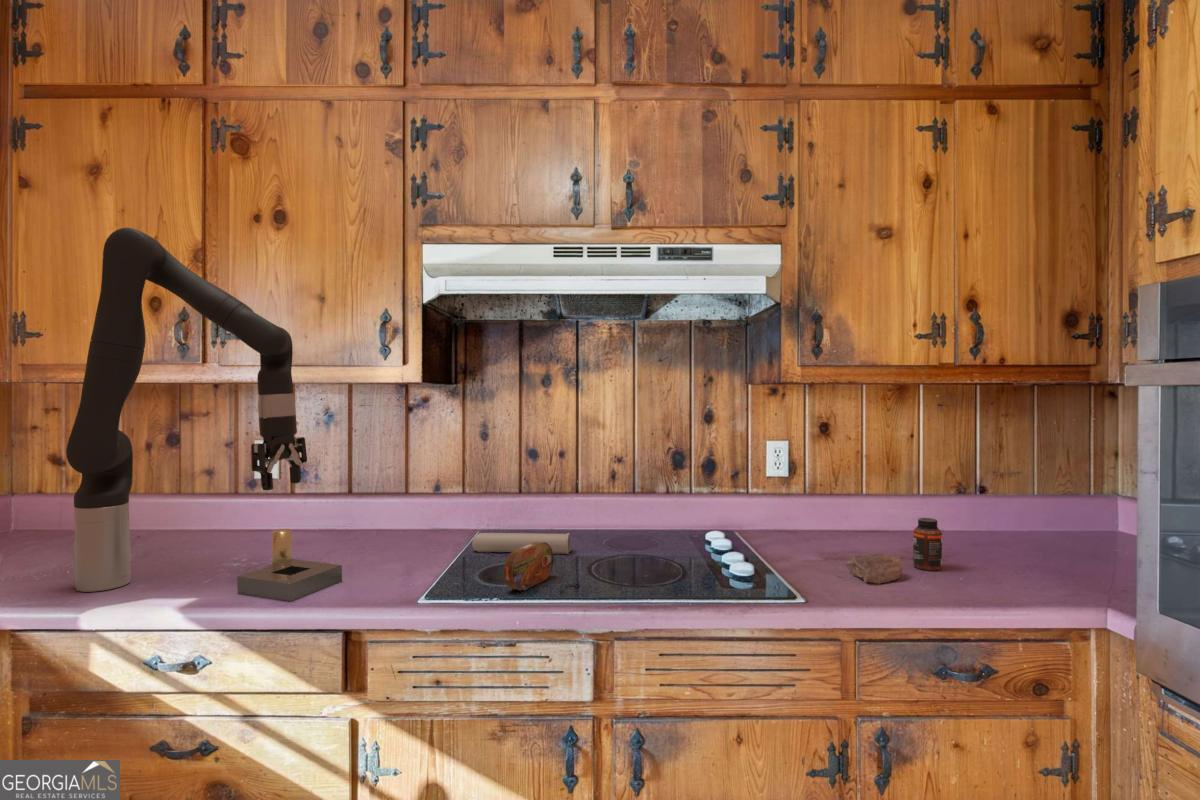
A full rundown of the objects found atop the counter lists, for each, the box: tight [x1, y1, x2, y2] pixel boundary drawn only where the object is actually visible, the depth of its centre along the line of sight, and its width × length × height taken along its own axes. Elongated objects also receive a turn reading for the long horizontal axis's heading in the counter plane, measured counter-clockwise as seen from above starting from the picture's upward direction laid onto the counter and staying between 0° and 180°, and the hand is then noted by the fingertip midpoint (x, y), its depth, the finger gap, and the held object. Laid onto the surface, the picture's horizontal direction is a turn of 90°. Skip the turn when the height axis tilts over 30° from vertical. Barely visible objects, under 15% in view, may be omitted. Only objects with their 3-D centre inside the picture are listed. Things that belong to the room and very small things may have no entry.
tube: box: [471, 532, 572, 555], centre depth 165 cm, size 5×5×25 cm
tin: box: [503, 542, 554, 592], centre depth 138 cm, size 15×3×8 cm, turn 151°
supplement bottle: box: [912, 517, 943, 572], centre depth 150 cm, size 6×6×11 cm
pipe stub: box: [271, 528, 293, 565], centre depth 149 cm, size 4×4×9 cm
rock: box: [845, 553, 904, 585], centre depth 144 cm, size 12×10×5 cm
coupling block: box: [236, 558, 343, 602], centre depth 136 cm, size 14×14×4 cm
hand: (282, 486), depth 146 cm, fingers open, 8 cm apart
